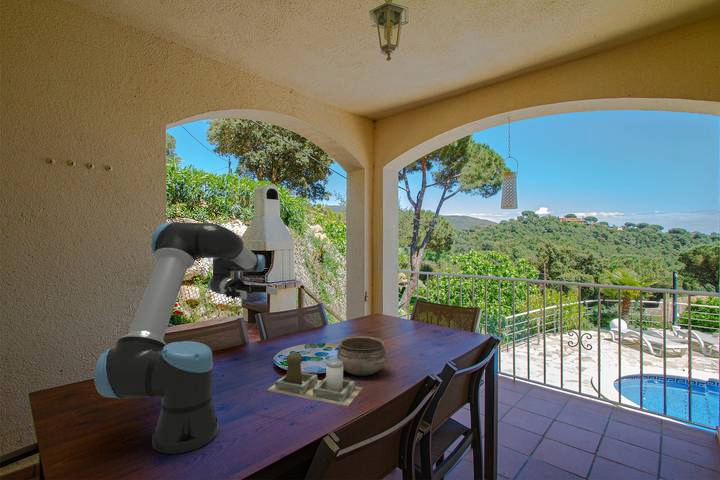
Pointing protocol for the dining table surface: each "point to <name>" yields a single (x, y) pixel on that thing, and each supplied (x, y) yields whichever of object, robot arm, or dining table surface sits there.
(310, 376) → the condiment caddy
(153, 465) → the dining table surface
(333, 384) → the salt shaker
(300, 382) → the pepper mill
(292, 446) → the dining table surface
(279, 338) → the dining table surface
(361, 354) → the cooking pot
